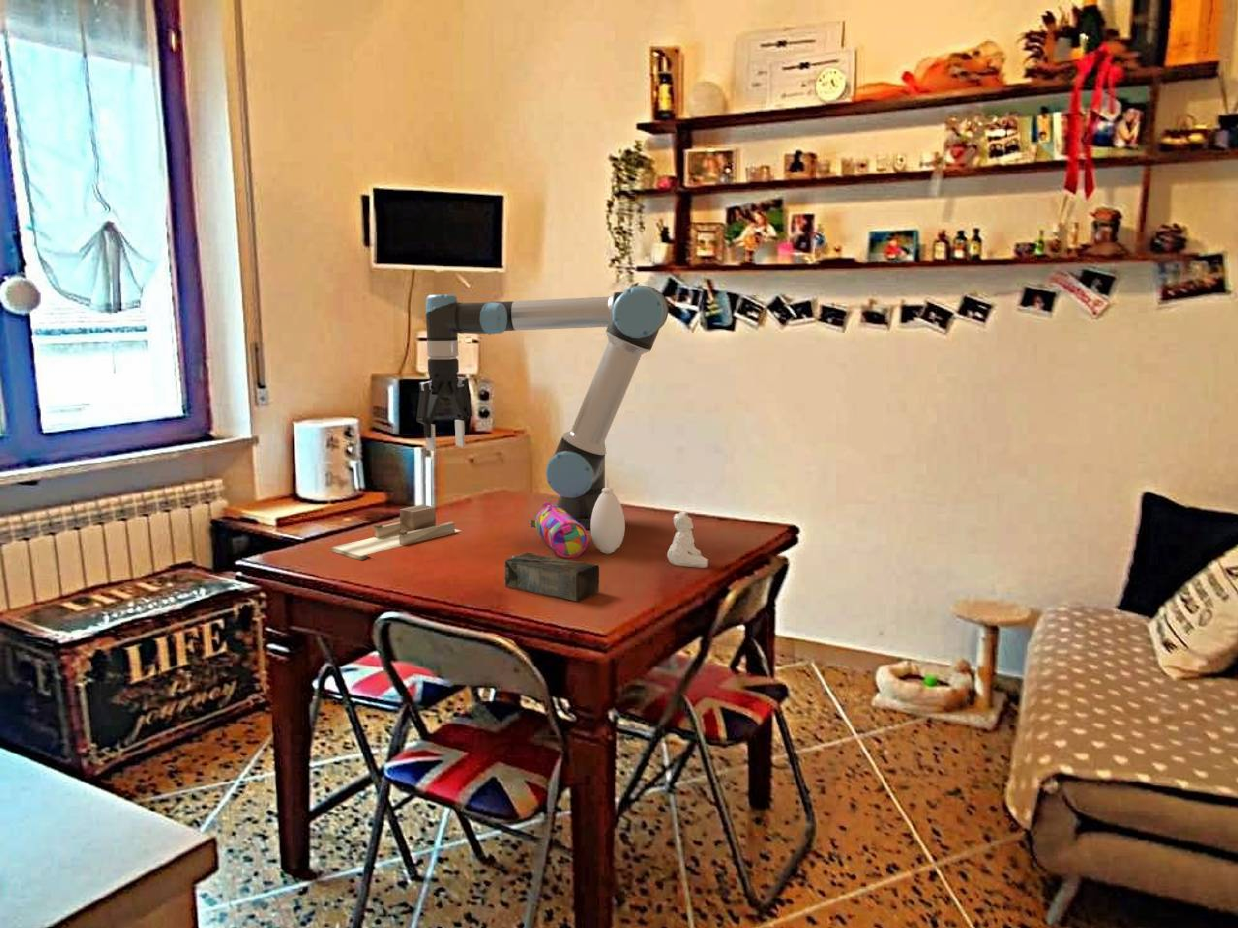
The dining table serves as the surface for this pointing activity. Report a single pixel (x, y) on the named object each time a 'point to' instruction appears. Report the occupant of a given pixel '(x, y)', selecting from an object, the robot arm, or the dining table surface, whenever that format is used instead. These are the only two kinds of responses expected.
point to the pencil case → (560, 531)
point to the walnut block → (417, 517)
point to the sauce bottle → (607, 521)
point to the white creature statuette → (685, 544)
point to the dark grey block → (552, 576)
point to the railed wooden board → (392, 539)
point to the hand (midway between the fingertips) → (445, 448)
